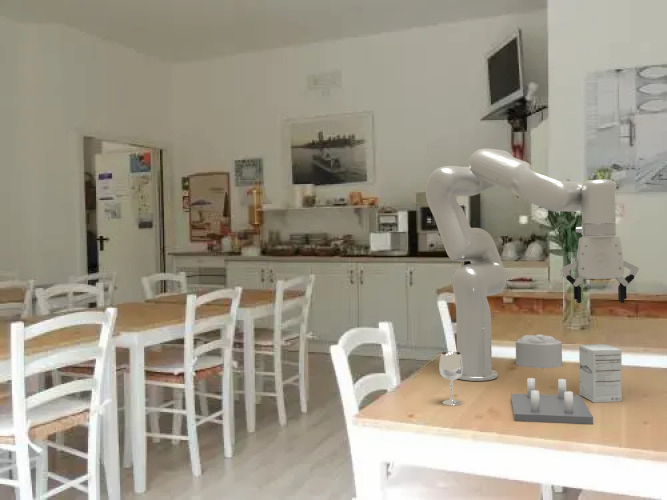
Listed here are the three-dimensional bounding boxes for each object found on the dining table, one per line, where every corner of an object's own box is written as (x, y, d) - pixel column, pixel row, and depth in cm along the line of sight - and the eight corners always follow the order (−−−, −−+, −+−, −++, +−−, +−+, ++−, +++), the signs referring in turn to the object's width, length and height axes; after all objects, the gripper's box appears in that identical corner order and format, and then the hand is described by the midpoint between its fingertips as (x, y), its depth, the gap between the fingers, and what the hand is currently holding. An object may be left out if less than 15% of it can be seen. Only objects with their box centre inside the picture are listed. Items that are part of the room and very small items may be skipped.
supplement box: (578, 395, 165) (578, 344, 165) (607, 394, 166) (607, 343, 165) (592, 403, 158) (592, 349, 157) (622, 401, 158) (622, 348, 158)
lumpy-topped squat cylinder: (520, 359, 210) (519, 332, 209) (563, 362, 204) (563, 334, 204) (514, 366, 200) (514, 337, 200) (559, 369, 195) (559, 340, 194)
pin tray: (514, 420, 145) (514, 393, 145) (511, 399, 162) (510, 375, 162) (593, 424, 141) (592, 396, 141) (580, 401, 159) (580, 377, 159)
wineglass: (465, 400, 162) (464, 351, 162) (462, 406, 157) (461, 356, 157) (441, 399, 164) (441, 350, 164) (437, 405, 159) (436, 355, 158)
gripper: (562, 232, 159) (564, 304, 159) (641, 230, 155) (642, 304, 155) (559, 232, 166) (560, 300, 167) (634, 230, 162) (634, 300, 163)
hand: (599, 302), depth 161 cm, fingers open, 9 cm apart
